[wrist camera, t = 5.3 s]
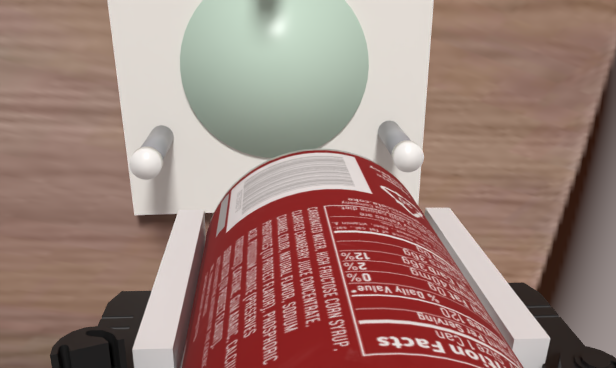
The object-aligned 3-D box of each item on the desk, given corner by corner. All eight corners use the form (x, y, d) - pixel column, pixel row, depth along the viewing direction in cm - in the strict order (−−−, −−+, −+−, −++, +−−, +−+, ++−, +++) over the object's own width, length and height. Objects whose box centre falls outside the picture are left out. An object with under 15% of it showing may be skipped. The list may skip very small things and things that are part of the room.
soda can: (197, 145, 16) (66, 526, 5) (424, 135, 17) (739, 467, 6) (216, 336, 19) (153, 868, 8) (413, 323, 19) (620, 809, 8)
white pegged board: (139, 206, 32) (114, 254, 27) (101, -105, 26) (59, -123, 21) (412, 197, 33) (441, 242, 28) (434, -103, 28) (476, -120, 22)
